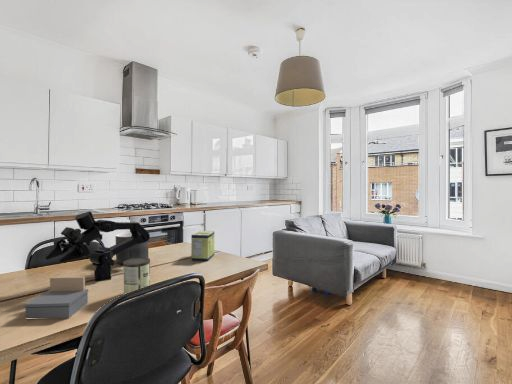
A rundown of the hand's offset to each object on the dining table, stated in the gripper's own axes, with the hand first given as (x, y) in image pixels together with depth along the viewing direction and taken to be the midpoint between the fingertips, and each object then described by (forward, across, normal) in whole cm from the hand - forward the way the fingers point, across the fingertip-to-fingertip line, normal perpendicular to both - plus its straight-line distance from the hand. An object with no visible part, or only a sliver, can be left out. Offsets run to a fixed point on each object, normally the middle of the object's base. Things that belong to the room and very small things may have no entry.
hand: (52, 260), depth 113 cm
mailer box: (+13, +16, +10) cm, 23 cm away
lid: (+11, +16, +6) cm, 21 cm away
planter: (-40, -12, +35) cm, 54 cm away
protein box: (-62, +21, +46) cm, 80 cm away
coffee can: (-8, +30, +20) cm, 37 cm away
